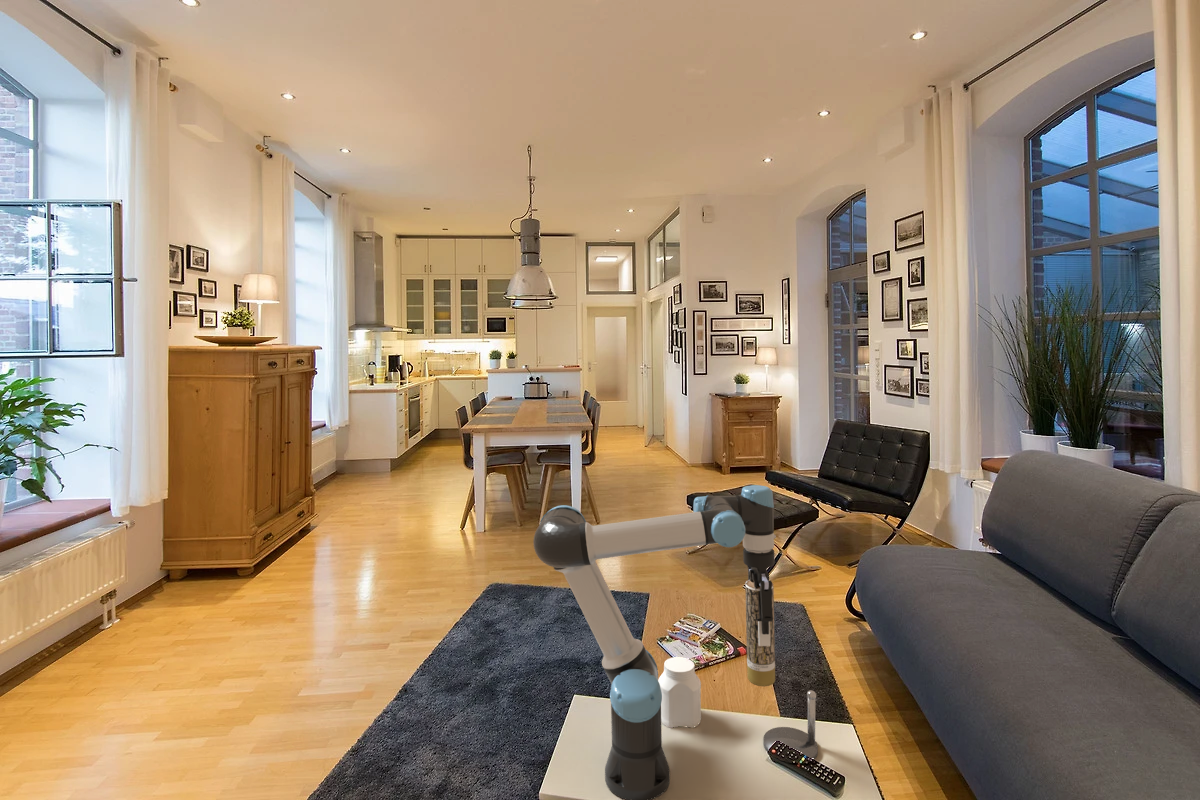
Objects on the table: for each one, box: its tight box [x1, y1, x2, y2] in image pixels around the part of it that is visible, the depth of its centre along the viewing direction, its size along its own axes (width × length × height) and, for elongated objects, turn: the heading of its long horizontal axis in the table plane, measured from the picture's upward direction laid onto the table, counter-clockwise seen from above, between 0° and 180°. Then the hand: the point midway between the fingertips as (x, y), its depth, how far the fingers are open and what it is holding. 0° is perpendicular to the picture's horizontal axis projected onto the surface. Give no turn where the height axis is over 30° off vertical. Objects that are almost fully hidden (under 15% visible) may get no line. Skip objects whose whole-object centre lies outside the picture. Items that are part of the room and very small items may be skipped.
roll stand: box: [762, 689, 819, 760], centre depth 152 cm, size 13×13×14 cm
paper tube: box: [745, 579, 776, 687], centre depth 152 cm, size 7×7×25 cm
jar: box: [658, 656, 702, 729], centre depth 166 cm, size 12×10×15 cm
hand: (760, 638), depth 153 cm, fingers closed on paper tube, 7 cm apart
